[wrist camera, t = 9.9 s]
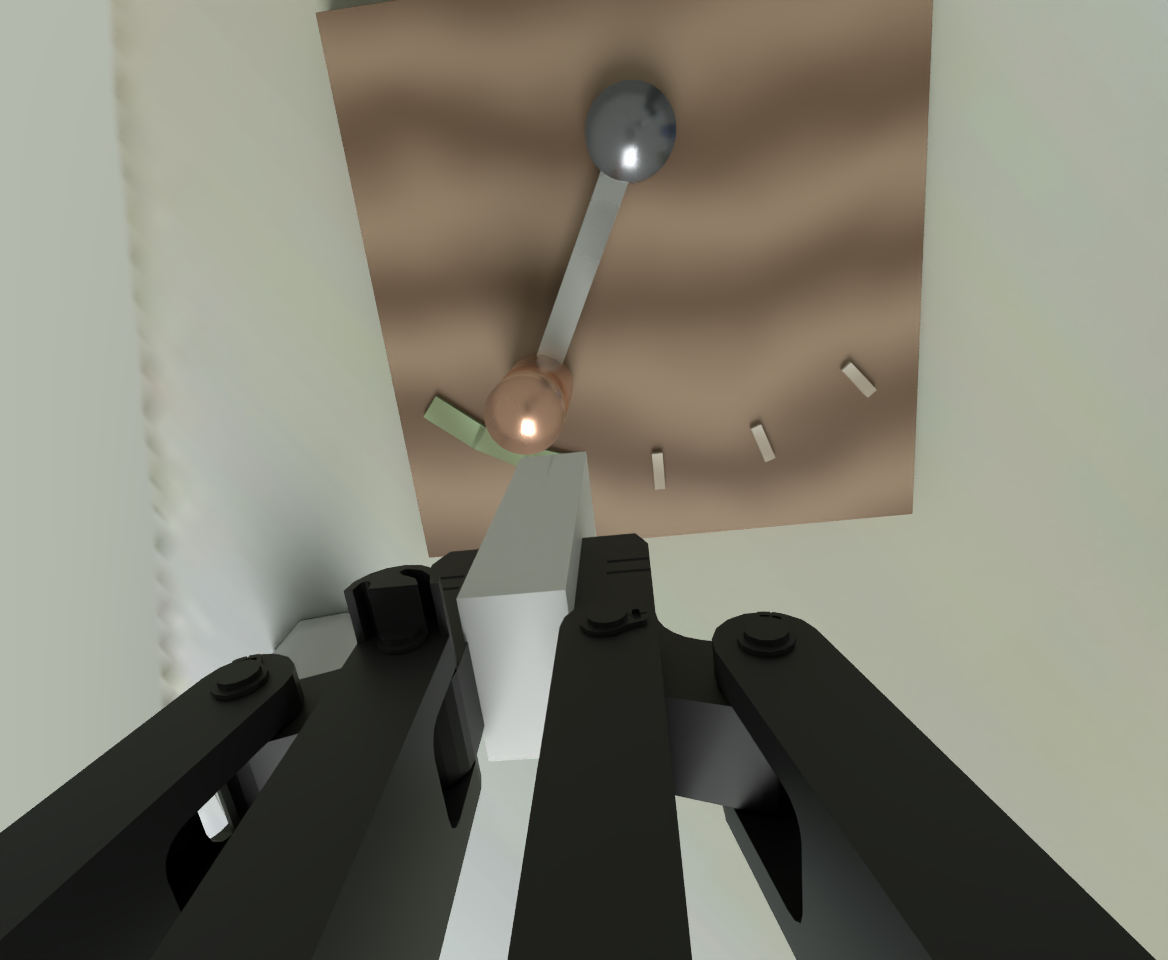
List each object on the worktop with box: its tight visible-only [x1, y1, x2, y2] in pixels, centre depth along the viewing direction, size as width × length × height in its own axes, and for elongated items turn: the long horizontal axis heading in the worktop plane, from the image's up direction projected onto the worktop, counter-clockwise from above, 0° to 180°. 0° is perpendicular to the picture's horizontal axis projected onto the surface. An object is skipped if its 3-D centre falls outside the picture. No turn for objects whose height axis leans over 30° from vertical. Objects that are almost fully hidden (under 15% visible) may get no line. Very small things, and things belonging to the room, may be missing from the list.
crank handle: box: [484, 80, 676, 455], centre depth 26 cm, size 15×4×6 cm, turn 159°
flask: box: [215, 613, 357, 815], centre depth 34 cm, size 7×7×10 cm
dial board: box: [316, 0, 933, 558], centre depth 30 cm, size 24×24×2 cm
